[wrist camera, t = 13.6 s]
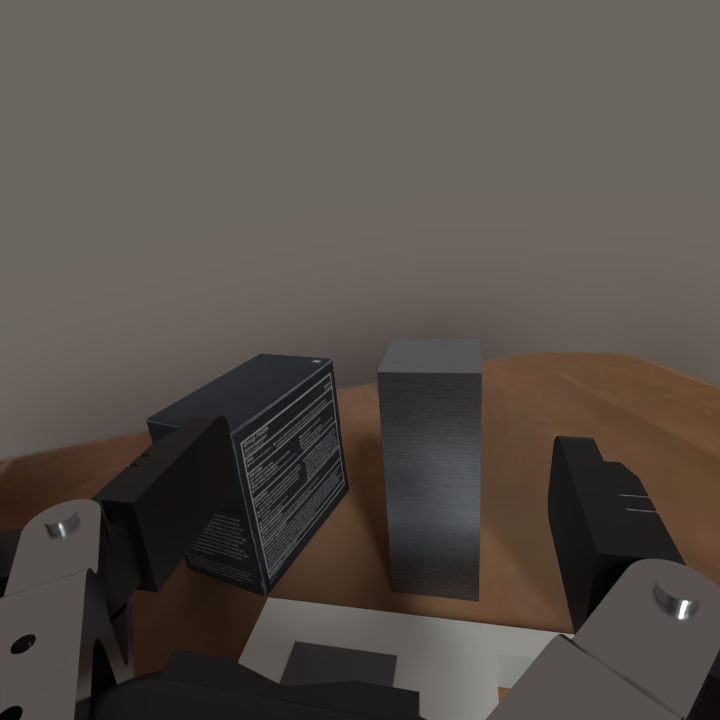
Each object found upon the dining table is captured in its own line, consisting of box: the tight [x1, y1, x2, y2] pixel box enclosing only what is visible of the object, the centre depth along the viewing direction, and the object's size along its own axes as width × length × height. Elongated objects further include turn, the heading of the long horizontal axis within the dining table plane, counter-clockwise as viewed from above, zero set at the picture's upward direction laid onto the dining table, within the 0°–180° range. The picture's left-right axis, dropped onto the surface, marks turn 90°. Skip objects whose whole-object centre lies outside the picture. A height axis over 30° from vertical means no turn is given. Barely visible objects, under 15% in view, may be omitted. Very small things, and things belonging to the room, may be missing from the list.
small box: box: [146, 354, 349, 595], centre depth 30 cm, size 11×6×10 cm, turn 155°
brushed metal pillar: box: [377, 339, 482, 601], centre depth 25 cm, size 5×5×13 cm
